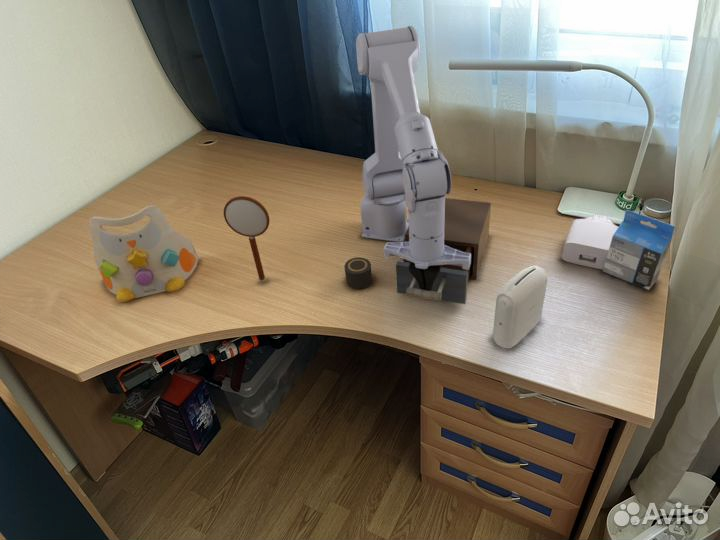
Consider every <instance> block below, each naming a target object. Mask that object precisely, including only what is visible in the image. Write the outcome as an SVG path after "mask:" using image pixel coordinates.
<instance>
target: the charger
mask: <svg viewBox="0 0 720 540" xmlns="http://www.w3.org/2000/svg"><path fill="white" fill-rule="evenodd" d="M618 227H619V226H618V225H617V224H614V222H613V221H612V220H610V219H609V218H608V217H607V215H603V216H599V214H597V213H596V214H595V215H591V216H586V217H584V218H575V219H573V221H572V223H571V226H570V229H569V232H568V234H567V236H566V240H565V242H564V244H563V249H562V254H561V255H562V256H561V258H562V260H563V261H565V262H566V263H567V262H568V263H571V264H574V265H580V266H583V267H587V268H588V267H589V268H593V269H598V270H602V271H603V268H604V264H605V261H606V258H607V254H608V251H609V247H610V244H611V240H612V237H613V235H614V233H615V232H616V230H617V229H618Z"/></svg>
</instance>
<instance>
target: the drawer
mask: <svg viewBox="0 0 720 540" xmlns="http://www.w3.org/2000/svg"><path fill="white" fill-rule="evenodd" d="M444 245H446V246H448V247H451V248H453V249H456V250H459V251H461V252H465V253H470V254H471V264H470V267H469V270H467V269H463V268H462V266H456V265H450V264H446V265H442V267H441V269H440V272H439V274H438V276H437V277H436V279H435V280H434V282H433V286H432V291H428V290H422V289H420V287H419V285H418V283H417V281H416V279H415V278H414V276H413V275H412V274H411V273H410V272H409V265H410V261H408V260H406V259H403V258H402V261H400V260H397V261H396V263H395V279H396V280H395V281H396V293H397V294H402V295H406V296H410V297H414V298H420V299H427V300H432V301H433V300H434V301H439V302H440V301H443V302H449V303H455V304H460V305H466V303H467V296H468V295H467V294H468V281H469V280H470V279H469V275H470V272H471V269H472V265H473V258H474V247H469V246H461V245H454V244H446V243H444Z"/></svg>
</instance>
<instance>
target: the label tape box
mask: <svg viewBox="0 0 720 540" xmlns="http://www.w3.org/2000/svg"><path fill="white" fill-rule="evenodd" d="M642 222H645V223H648V222H649V223H650V224H651V225H653V226H656V227H653V226H650V225H647V224H644V223H642ZM675 228H676V226H675V225H673V224H670V223H667V222H664V221H661V220H659V219H656V218H653V217H651V216H647V215H644V214H641V213H638V212H636V211H632V210H629V209H625V211H624V216H623V220H622V221H621V222H620V224H619V226H618V229H617V230H616V232H615V233H614V235H613V237H612V240H611V244H610V247H609V251H608V254H607V258H606V261H605V264H604V268H603V270H602V272H603V273H606V274H607V275H610V276H612V277H616V278H618V279H621V280H623V281H625V282H628V283H630V284H633V285H635V286H638V287H640V288H642V289H645V290H647V291H650V290H651V288H652V287H653V286H654V285H655V284H656V282H657V281H658V279H659V277H660V273H661V270H662V268H663V265H664V262H665V259H666V256H667V253H668V251H669V248H670V245H671V243H672V241H673V236H674V231H675Z"/></svg>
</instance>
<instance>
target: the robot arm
mask: <svg viewBox="0 0 720 540" xmlns="http://www.w3.org/2000/svg"><path fill="white" fill-rule="evenodd" d="M355 51H356V63H357V71H358V74H359V76H364V77H365V76H366V77H368V79H369V81H370V82H369V83H370V92H371V93H370V94H371V108H372V121H373V123H372V124H373V138H374V153H373V154H371V155H370V156H369V157H368V158H367V159H365V160H364V161H363V163H362V164H363V165H362V174H361V175H362V176H361V177H362V178H361V179H362V186H363V191H364V194H363V196H362V199H361V203H360V217H361V229H362V233H361V237H362V238H365V239H372V240H379V241H385V242H386V241H387V242H386V243H385V244H384V247H383V257H384V258H385V259H386V258H387V259H390V258H391V257H395V258H401V259H402V260H403V259H406V260H408V261H410V265H409V272H410V273H411V274H412V275H413V276H414V278H415V279H416V281H417V283H418V285H419V287H420V289H422V290H428V291H432V286H433V282H434V280H435V279H436V277H437V276H438V274H439V272H440V269H441V267H442V265H446V264H450V265H456V266H462V268H463V269H467V270H469V267H470V264H471V254H470V253H465V252H461V251H459V250H456V249H453V248H451V247H448V246H446V245H444V224H445V198H446V195H450V194H451V192H452V186H453V185H452V184H453V180H452V173H451V169H450V168H451V167H450V165H449V162H448V160H447V159H446V157H445V156H444V153H443V151H442V150H439V148H438V144H437V141H436V137H435V134H434V131H433V127H432V123H431V120H430V118H429V117H428V116H427V115H424V114H422V113H421V110H420V104H419V98H418V92H417V87H416V81H415V76H414V74H415V73H416V72H417V70H418V63H419V61H420V59H421V43H420V38H419V34H418V31H417V29H415V28H414V26H412V25H408V26H407V27H400V28H393V29H386V30H385V29H384V30H379V31H371V32H366V33H364V32H360V33H358V35H357V37H356V39H355ZM407 208H408V209H407ZM407 210H408V211H407ZM407 212H408V220H407ZM408 227H409V242H405V233H406V231H407V229H408Z"/></svg>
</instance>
